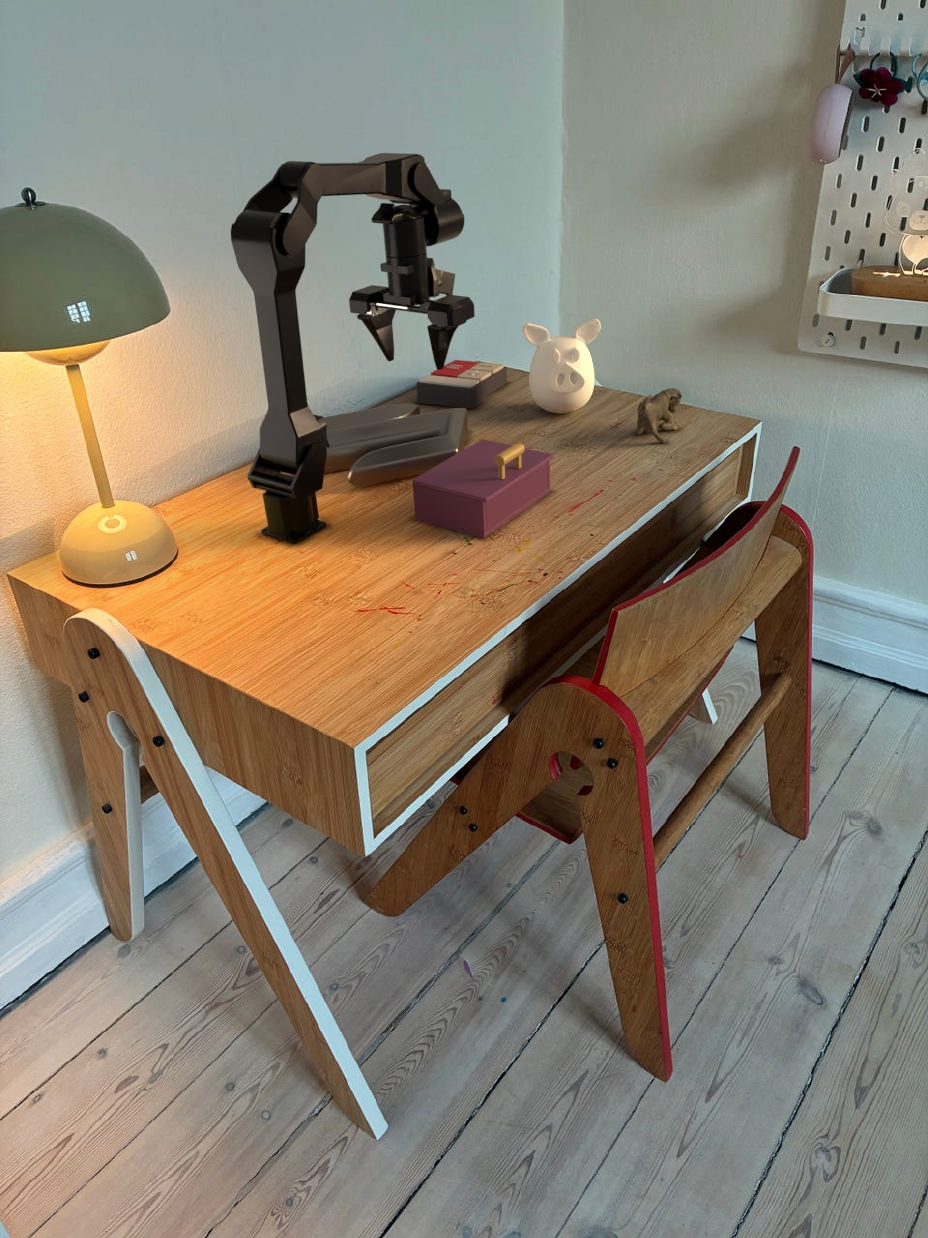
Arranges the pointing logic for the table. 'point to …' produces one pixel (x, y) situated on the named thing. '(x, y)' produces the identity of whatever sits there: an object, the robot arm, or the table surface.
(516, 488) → the maroon open box
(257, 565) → the table surface
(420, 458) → the emblem
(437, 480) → the file box lid
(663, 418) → the brown monkey figurine
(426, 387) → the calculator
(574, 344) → the piggy bank
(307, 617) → the table surface
